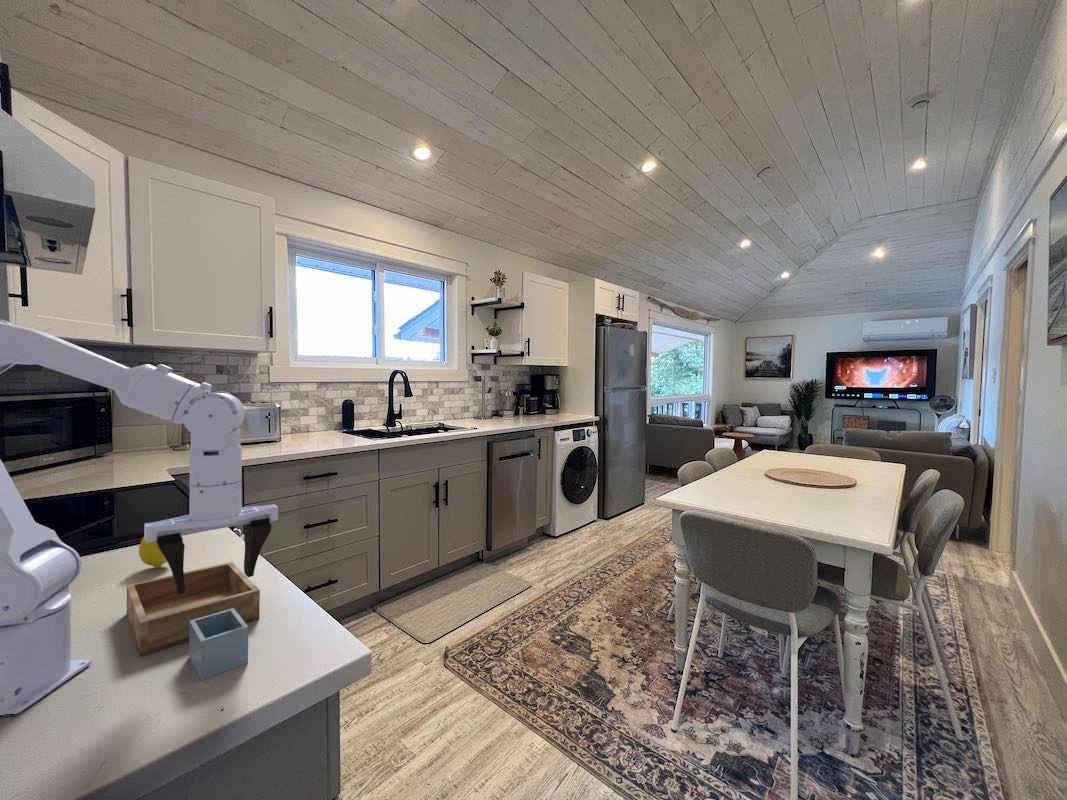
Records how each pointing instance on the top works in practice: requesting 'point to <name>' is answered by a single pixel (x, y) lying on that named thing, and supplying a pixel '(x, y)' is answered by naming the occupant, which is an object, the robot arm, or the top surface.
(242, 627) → the small crate
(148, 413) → the robot arm
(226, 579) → the big crate
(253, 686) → the top surface
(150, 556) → the lemon
